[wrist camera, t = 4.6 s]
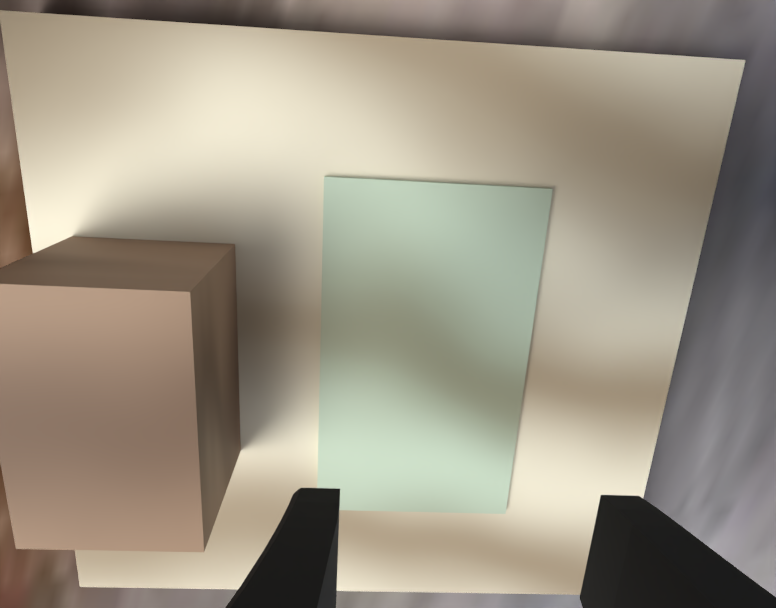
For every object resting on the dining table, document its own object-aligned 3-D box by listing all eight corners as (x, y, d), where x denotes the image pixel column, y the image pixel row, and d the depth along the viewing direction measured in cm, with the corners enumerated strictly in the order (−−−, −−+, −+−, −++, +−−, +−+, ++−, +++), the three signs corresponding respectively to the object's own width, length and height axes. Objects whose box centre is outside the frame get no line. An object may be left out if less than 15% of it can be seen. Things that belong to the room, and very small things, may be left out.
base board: (602, 561, 20) (623, 600, 19) (101, 551, 19) (76, 591, 18) (710, 64, 15) (750, 59, 14) (35, 19, 14) (-7, 9, 13)
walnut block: (240, 450, 17) (203, 552, 13) (96, 446, 16) (15, 548, 13) (235, 243, 15) (190, 292, 11) (72, 236, 14) (-32, 282, 11)
